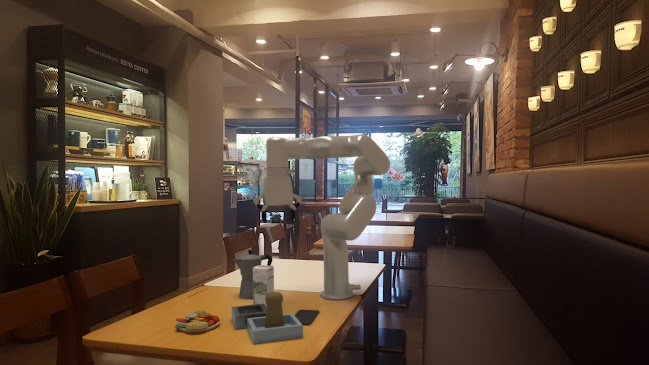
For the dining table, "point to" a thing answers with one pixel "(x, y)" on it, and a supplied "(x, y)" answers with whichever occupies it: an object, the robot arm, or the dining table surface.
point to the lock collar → (247, 314)
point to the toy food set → (198, 322)
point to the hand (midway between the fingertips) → (278, 222)
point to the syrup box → (262, 283)
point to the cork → (274, 310)
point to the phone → (306, 316)
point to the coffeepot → (249, 272)
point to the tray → (274, 329)
